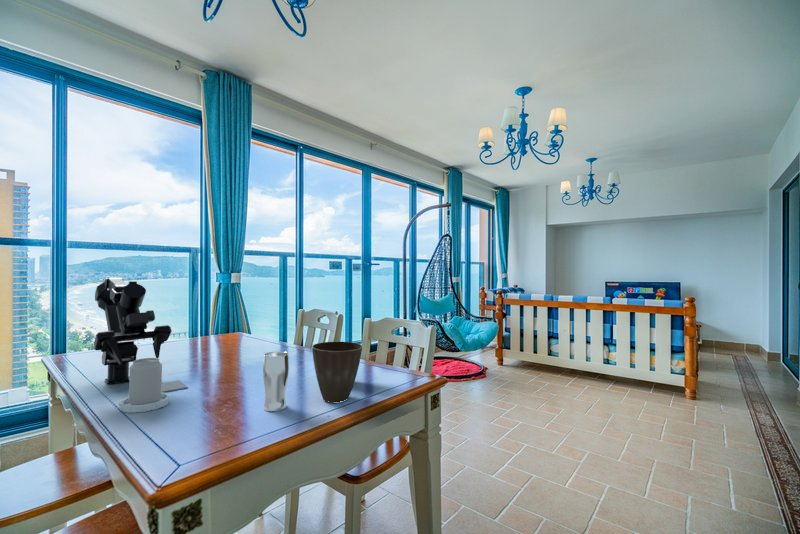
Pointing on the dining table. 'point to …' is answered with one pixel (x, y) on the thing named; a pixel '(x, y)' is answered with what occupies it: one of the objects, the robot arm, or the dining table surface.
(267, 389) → the beer glass
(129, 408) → the dish
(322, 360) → the plant pot
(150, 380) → the can
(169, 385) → the mat
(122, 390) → the dining table surface
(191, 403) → the dining table surface
